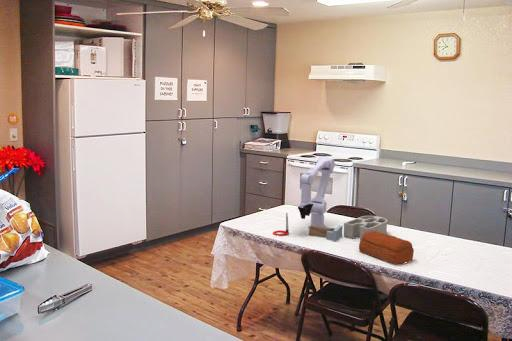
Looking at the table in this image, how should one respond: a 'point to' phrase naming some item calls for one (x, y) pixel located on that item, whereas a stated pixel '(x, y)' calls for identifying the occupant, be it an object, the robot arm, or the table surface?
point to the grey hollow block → (364, 226)
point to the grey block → (334, 234)
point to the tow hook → (283, 231)
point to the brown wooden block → (319, 231)
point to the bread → (386, 247)
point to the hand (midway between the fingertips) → (305, 217)
